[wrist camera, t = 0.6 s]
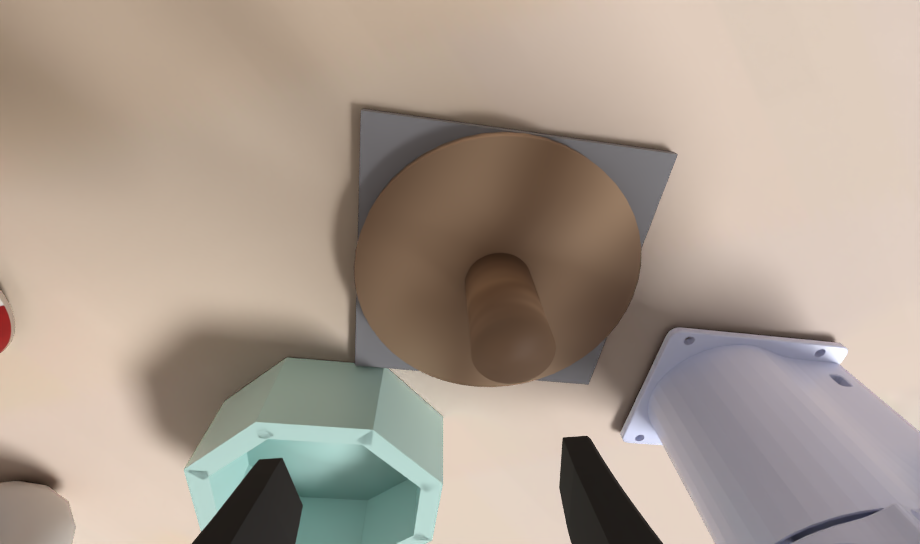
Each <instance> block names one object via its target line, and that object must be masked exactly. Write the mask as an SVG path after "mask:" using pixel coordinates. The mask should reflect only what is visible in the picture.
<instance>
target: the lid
mask: <svg viewBox="0 0 920 544" xmlns="http://www.w3.org/2000/svg"><path fill="white" fill-rule="evenodd" d="M640 267H641V242H640V234H639V229H638V226H637V223H636V219H635V216H634V213H633V211H632V209H631V207H630V205H629V203H628V201H627V199H626V198H625V196H624V195H623V193H622V192H621V190H620V189H619V188H618V186H617V185H616V184H615V182H614V181H613V180H612V179H611V178H610V177H609V176H608V175H607V174H606V173H605V172H604V171H603V170H602V169H601V168H599V167H598V166H597V165H596V164H595V163H593V162H592V161H591V160H589V159H588V158H587V157H585V156H584V155H583V154H581V153H579V152H578V151H576V150H574V149H572V148H570V147H568V146H566V145H565V144H562V143H559V142H556V141H554V140H551V139H548V138H546V137H541V136H536V135H531V134H527V133H515V132H493V133H481V134H476V135H471V136H467V137H462V138H459V139H456V140H453V141H450V142H447V143H444V144H442V145H440V146H438V147H436V148H434V149H432V150H430V151H428V152H426V153H424V154H422V155H421V156H419V157H418V158H417V159H415V160H414V161H412V162H411V163H409V164H408V165H406V166H405V167H404V168H403V169H402V170H401V171H400V172H399V173H398V174H397V175H395V176H394V177H393V178H392V179H391V180H390V182H389V183H388V184H387V185H386V187H385V188H384V189H383V190H382V191H381V193H380V194H379V196H378V197H377V199H376V201H375V202H374V204H373V205H372V207H371V209H370V211H369V213H368V216H367V218H366V220H365V223H364V225H363V228H362V230H361V232H360V236H359V239H358V243H357V247H356V252H355V263H354V276H355V286H356V291H357V296H358V300H359V303H360V306H361V308H362V311H363V314H364V316H365V318H366V319H367V321H368V323H369V325H370V327H371V328H372V330H373V331H374V332H375V334H376V335H377V336H378V338H379V339H380V340H381V341H382V343H383V344H384V345H385V346H386V347H387V348H388V349H389V350H390V351H391V352H392V353H394V354H395V355H396V356H397V357H399V358H400V359H401V360H402V361H404V362H406V363H407V364H409V365H410V366H412V367H414V368H415V369H417V370H419V371H421V372H423V373H425V374H428V375H430V376H432V377H435V378H438V379H441V380H444V381H448V382H452V383H456V384H461V385H469V386H478V387H498V386H510V385H516V384H522V383H526V382H530V381H534V380H537V379H541V378H543V377H546V376H549V375H551V374H554V373H556V372H558V371H560V370H562V369H564V368H566V367H568V366H570V365H572V364H573V363H575V362H577V361H578V360H580V359H581V358H583V357H584V356H586V355H587V354H588V353H589V352H591V351H592V350H593V349H595V348H596V347H597V346H598V345H599V344H600V343H601V342H602V341H603V340H604V339H605V338H606V337H607V336H608V335H609V334H610V332H611V331H612V330H613V329H614V328H615V326H616V325H617V324H618V322H619V321H620V319H621V318H622V316H623V315H624V313H625V312H626V310H627V308H628V306H629V303H630V301H631V299H632V297H633V295H634V292H635V288H636V285H637V282H638V278H639V272H640Z"/></svg>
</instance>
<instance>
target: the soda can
mask: <svg viewBox="0 0 920 544" xmlns="http://www.w3.org/2000/svg"><path fill="white" fill-rule="evenodd" d="M14 332H15V319H14V315H13V311H12V309H11V306H10V304H9V302H8V300H7V299H6V297H5V296H4V294H3V293H2V291H1V290H0V353H1V352H2V351H4V350H5V349H6V348H7V347H8V345H9V344H10V343H11V341H12V339H13V336H14Z"/></svg>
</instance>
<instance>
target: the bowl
mask: <svg viewBox="0 0 920 544" xmlns="http://www.w3.org/2000/svg"><path fill="white" fill-rule="evenodd" d="M271 458H283V460H284V462H285V465H286V467H287V469H288V472H289V474H290V476H291V479H292V481H293V483H294V486H295V488H296V490H297V493H298V495H299V497H300V500H301V502H302V504H303V508H302V513H301V518H300V524H299V529H298V534H297V538H296V543H295V544H426V543H428V542H430V541H432V538H433V533H434V528H435V522H436V517H437V512H438V507H439V501H440V496H441V491H442V486H443V416H441V415H440V414H439V413H438V412H437V411H436V410H435V409H433V408H432V407H431V406H430V405H429V404H428V403H427V402H425V401H424V400H423V399H422V398H421V397H420V396H419V395H418V394H416V393H415V392H414V391H413V390H412V389H411V388H410V387H408V386H407V385H406V384H405V383H404V382H403V381H402V380H400V379H399V378H398V377H397V376H396V375H395V374H394V373H392V372H391V371H390V370H389V369H388V368H379V367H367V366H355V363H349V362H337V361H325V360H313V359H300V358H288V357H287V358H285V359H284V360H282V361H281V362H280V363H278V364H277V365H275V366H274V367H272V368H271V369H270V370H268V371H267V372H265V373H264V374H262V375H261V376H260V377H258V378H257V379H255V380H254V381H253V382H251V383H250V384H248V385H247V386H245V387H244V388H243V389H241V390H240V391H238V392H237V393H235V394H234V395H233V396H231V397H230V398H228V399H227V400H226V401H224V403H223V404H222V406H221V408H220V409H219V411H218V413H217V415H216V416H215V418H214V420H213V421H212V423H211V425H210V426H209V428H208V430H207V431H206V433H205V435H204V436H203V438H202V440H201V441H200V443H199V445H198V446H197V448H196V450H195V451H194V453H193V455H192V457H191V458H190V460H189V462H188V463H187V465H186V467H185V468H184V472H185V476H186V479H187V483H188V487H189V490H190V494H191V497H192V501H193V504H194V508H195V512H196V515H197V519H198V522H199V526H200V529H201V531H203V529H204V528H205V527H206V526H207V524H208V523H209V522H210V521H211V519H212V518H213V517H214V516H215V514H216V513H217V512H218V511H219V509H220V508H221V507H222V506H223V504H224V503H225V502H226V500H227V499H228V498H229V497H230V495H231V494H232V493H233V492H234V490H235V489H236V488H237V486H238V485H239V484H240V483H241V481H242V480H243V479H244V477H245V476H246V475H247V474H248V472H249V471H250V470H251V468H252V467H253V466H254V465H255V463H256V462H257V461H258V460H259V459H271Z"/></svg>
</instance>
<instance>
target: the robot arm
mask: <svg viewBox="0 0 920 544" xmlns="http://www.w3.org/2000/svg"><path fill="white" fill-rule="evenodd" d="M687 337H689V338H688V339H686V338H687ZM685 339H686V340H685ZM847 353H848V349H847V348H846V347H845V346H843V345H842V344H841V343H836V342H826V341H815V340H805V339H795V338H784V337H774V336H764V335H754V334H743V333H733V332H723V331H712V330H702V329H692V328H681V327H678V328H674V329H672V330H670V331H669V332H668V333H667V335H666V337H665V339H664V341H663V343H662V345H661V348H660V350H659V352H658V354H657V356H656V358H655V360H654V362H653V365H652V367H651V369H650V371H649V373H648V375H647V377H646V379H645V381H644V384H643V386H642V388H641V390H640V392H639V394H638V396H637V398H636V400H635V403H634V405H633V407H632V409H631V411H630V413H629V415H628V417H627V420H626V422H625V424H624V426H623V428H622V430H621V433H620V435H621V437H622V439H623V441H625V442H628V443H639V444H654V445H663V446H664V448H665V450H666V452H667V454H668V456H669V458H670V459H671V461H672V463H673V465H674V467H675V469H676V471H677V473H678V474H679V476H680V478H681V480H682V482H683V484H684V486H685V488H686V490H687V491H688V493H689V495H690V497H691V499H692V501H693V503H694V505H695V506H696V508H697V510H698V512H699V514H700V516H701V518H702V520H703V522H704V523H705V525H706V527H707V529H708V531H709V533H710V535H711V537H712V538H713V540H714V542H715V544H920V431H918V430H917V429H916V428H915V427H914V426H912V425H911V424H910V423H909V422H908V421H906V420H905V419H904V418H903V417H902V416H900V415H899V414H898V413H897V412H896V411H895V410H893V409H892V408H891V407H890V406H889V405H887V404H886V403H885V402H884V401H883V400H881V399H880V398H879V397H878V396H877V395H875V394H874V393H873V392H872V391H871V390H869V389H868V388H867V387H866V386H865V385H864V384H862V383H861V382H860V381H859V380H858V379H856V378H855V377H854V376H853V375H852V374H850V373H849V372H848V371H847V370H846V369H844V368H843V367H842V366H841V365H840V363H841V362H842V360H843V359H844V358H845V356H846V355H847ZM559 488H560V493H561V498H562V504H563V509H564V514H565V519H566V524H567V528H568V533H569V536H570V540H571V543H572V544H663V543H662V542H661V540H660V539H659V538H658V536H657V535H656V534H655V533H654V531H653V530H652V529H651V527H650V526H649V525H648V523H647V522H646V521H645V519H644V518H643V516H642V515H641V514H640V512H639V511H638V510H637V508H636V507H635V506H634V504H633V503H632V502H631V500H630V499H629V497H628V496H627V495H626V493H625V492H624V490H623V489H622V487H621V486H620V484H619V483H618V481H617V480H616V479H615V477H614V476H613V474H612V473H611V471H610V469H609V468H608V466H607V465H606V463H605V462H604V460H603V459H602V457H601V455H600V454H599V452H598V450H597V449H596V447H595V445H594V444H593V442H592V440H591V439H590V438H589V437H588V436H578V437H564V438H563V441H562V456H561V471H560V486H559ZM302 508H303V504H302V502H301V500H300V497H299V495H298V493H297V490H296V488H295V486H294V483H293V481H292V479H291V476H290V474H289V472H288V469H287V467H286V465H285V462H284V460H283V458H271V459H259V460H258V461H257V462H256V463H255V465H254V466H253V467H252V468H251V470H250V471H249V472H248V474H247V475H246V476H245V477H244V479H243V480H242V481H241V483H240V484H239V485H238V486H237V488H236V489H235V490H234V492H233V493H232V494H231V495H230V497H229V498H228V499H227V500H226V502H225V503H224V504H223V506H222V507H221V508H220V509H219V511H218V512H217V513H216V514H215V516H214V517H213V518H212V519H211V521H210V522H209V523H208V524H207V526H206V527H205V528H204V529H203V531H202V532H201V533H200V534H199V535H198V537H197V538H196V539H195V540H194V542H193V543H192V544H295V543H296V538H297V534H298V529H299V524H300V518H301V513H302Z"/></svg>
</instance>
